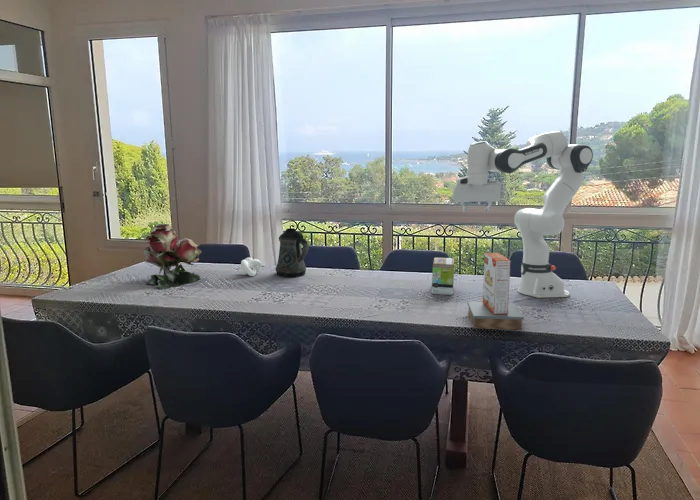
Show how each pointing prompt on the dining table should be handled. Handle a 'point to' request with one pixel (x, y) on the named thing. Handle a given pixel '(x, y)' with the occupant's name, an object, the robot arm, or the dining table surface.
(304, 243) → the beer stein
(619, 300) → the dining table surface
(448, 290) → the tea box
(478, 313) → the podium
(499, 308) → the cracker box
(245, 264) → the white knot sculpture
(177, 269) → the rose bouquet
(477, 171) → the robot arm
